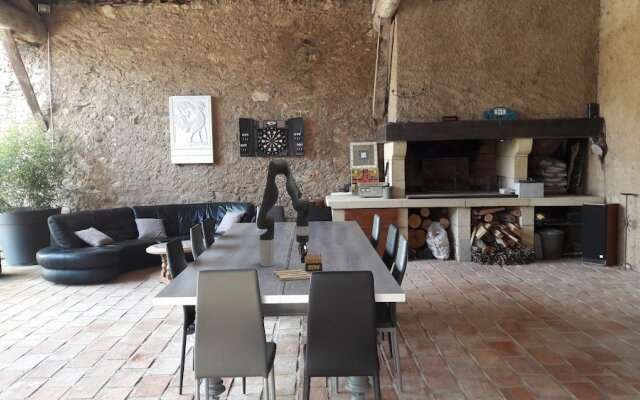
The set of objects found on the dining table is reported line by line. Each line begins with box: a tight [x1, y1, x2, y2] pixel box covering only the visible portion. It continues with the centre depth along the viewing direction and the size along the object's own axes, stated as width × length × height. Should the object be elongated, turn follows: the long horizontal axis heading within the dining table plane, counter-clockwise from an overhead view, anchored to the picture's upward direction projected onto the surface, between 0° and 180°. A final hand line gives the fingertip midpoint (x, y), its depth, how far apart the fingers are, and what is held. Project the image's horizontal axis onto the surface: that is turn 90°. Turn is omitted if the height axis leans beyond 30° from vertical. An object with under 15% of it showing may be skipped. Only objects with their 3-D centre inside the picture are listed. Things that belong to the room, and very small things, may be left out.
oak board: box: [273, 268, 306, 278], centre depth 304 cm, size 9×18×2 cm, turn 108°
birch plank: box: [276, 272, 311, 282], centre depth 295 cm, size 10×18×2 cm, turn 108°
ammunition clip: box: [304, 251, 323, 273], centre depth 312 cm, size 11×2×12 cm, turn 93°
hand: (302, 262), depth 295 cm, fingers closed
